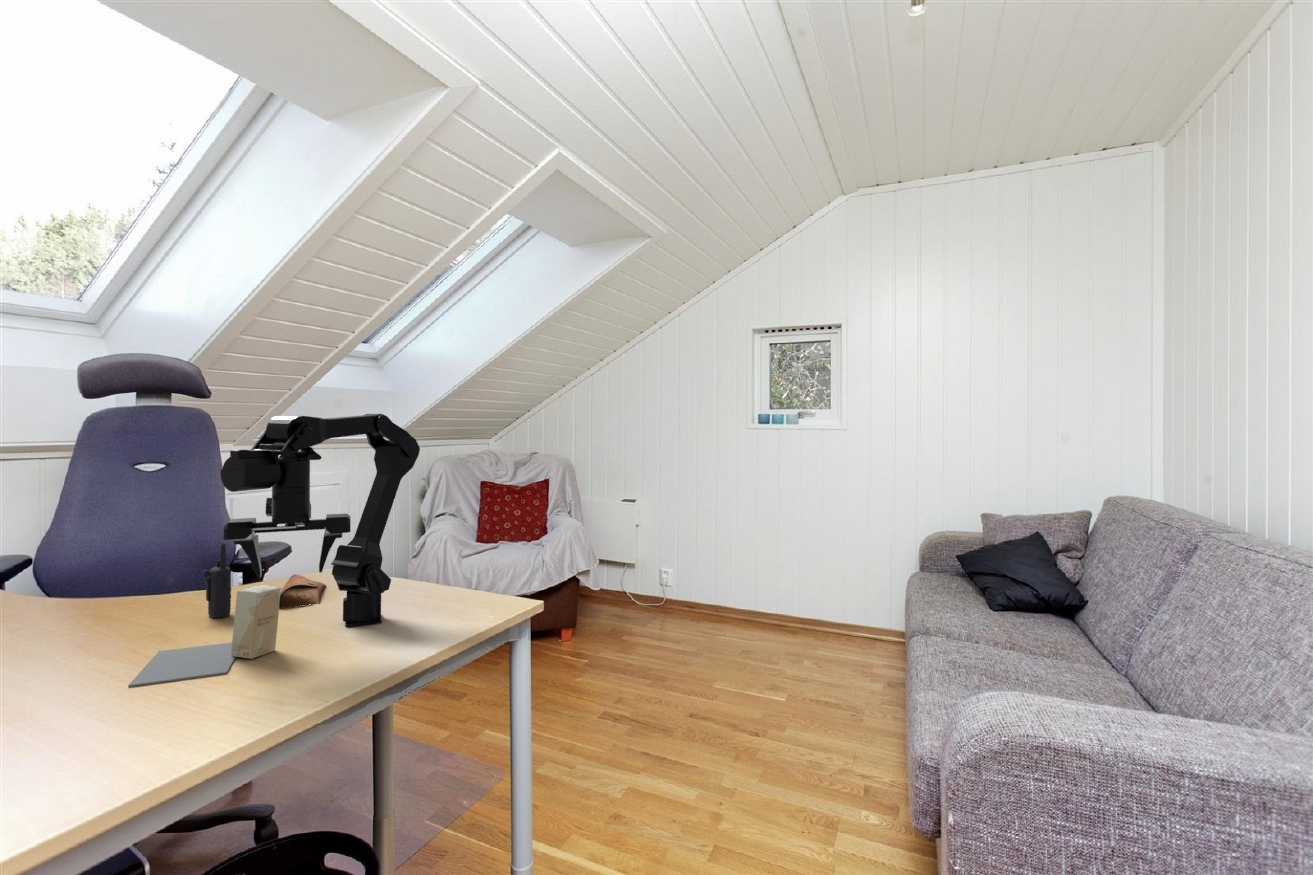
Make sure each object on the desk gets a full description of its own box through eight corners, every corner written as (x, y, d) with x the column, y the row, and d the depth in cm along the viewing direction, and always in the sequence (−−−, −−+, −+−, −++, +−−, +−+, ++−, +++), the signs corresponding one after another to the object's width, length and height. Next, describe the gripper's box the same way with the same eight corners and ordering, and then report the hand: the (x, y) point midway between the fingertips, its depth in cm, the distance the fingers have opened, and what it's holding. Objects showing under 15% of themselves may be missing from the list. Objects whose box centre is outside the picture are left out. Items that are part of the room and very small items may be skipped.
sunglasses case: (322, 604, 130) (304, 579, 129) (289, 623, 128) (271, 598, 126) (327, 584, 146) (311, 562, 145) (298, 601, 144) (282, 579, 142)
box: (251, 659, 98) (256, 593, 99) (229, 656, 99) (234, 590, 99) (277, 649, 104) (282, 586, 104) (256, 646, 104) (261, 583, 105)
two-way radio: (232, 616, 121) (233, 543, 121) (206, 621, 117) (207, 546, 117) (225, 611, 124) (225, 540, 124) (198, 615, 121) (199, 542, 121)
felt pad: (243, 642, 107) (243, 641, 107) (226, 673, 93) (226, 671, 93) (158, 652, 101) (158, 651, 101) (128, 687, 88) (128, 685, 88)
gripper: (350, 481, 116) (350, 560, 116) (234, 484, 107) (234, 569, 107) (350, 486, 106) (350, 573, 106) (223, 490, 97) (222, 584, 97)
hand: (290, 574), depth 104 cm, fingers open, 9 cm apart
